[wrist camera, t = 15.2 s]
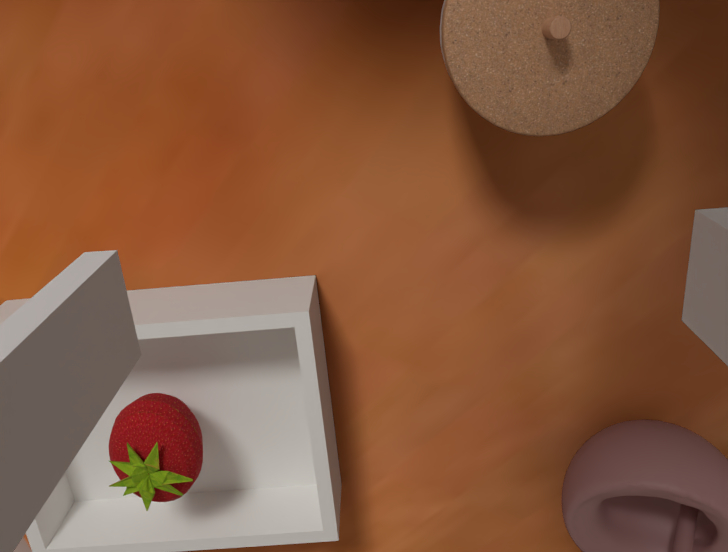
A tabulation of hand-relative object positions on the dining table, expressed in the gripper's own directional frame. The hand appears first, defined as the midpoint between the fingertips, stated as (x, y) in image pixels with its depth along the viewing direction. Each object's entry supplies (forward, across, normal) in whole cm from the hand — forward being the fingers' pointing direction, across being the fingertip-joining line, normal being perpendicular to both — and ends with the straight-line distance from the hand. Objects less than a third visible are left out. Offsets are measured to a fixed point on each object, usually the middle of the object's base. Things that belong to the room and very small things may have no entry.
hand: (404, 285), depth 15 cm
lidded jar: (+28, +8, +4) cm, 30 cm away
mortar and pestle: (+28, +17, -28) cm, 43 cm away
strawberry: (+27, -16, -20) cm, 37 cm away
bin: (+28, -16, -20) cm, 38 cm away
